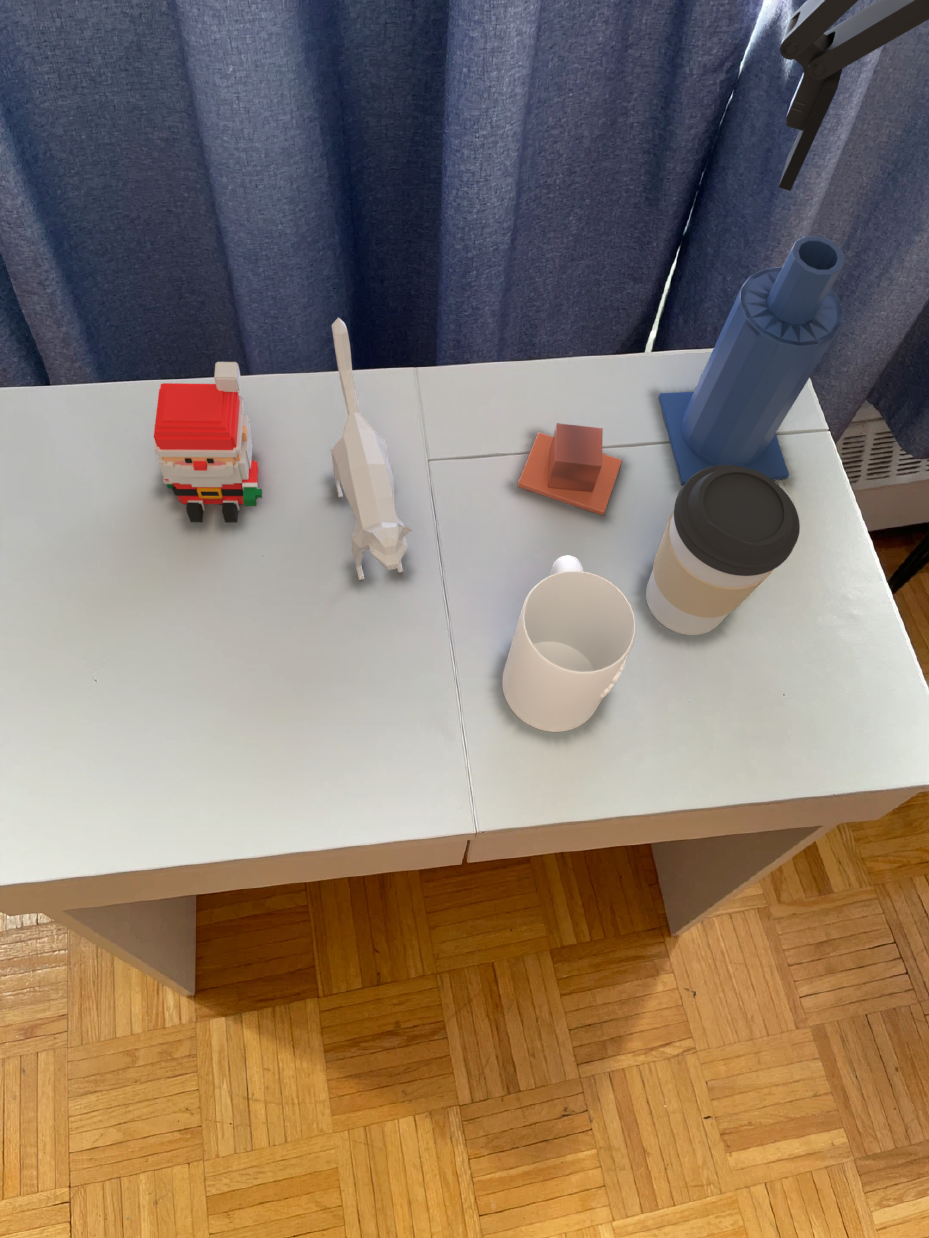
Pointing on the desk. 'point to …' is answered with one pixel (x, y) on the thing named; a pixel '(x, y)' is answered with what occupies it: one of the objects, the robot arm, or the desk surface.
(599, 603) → the mug
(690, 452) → the blue mat
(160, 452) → the figurine
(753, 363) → the blue bottle
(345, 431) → the cat figurine
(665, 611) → the coffee cup
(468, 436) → the desk surface
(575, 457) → the terracotta block
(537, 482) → the orange flat plate
